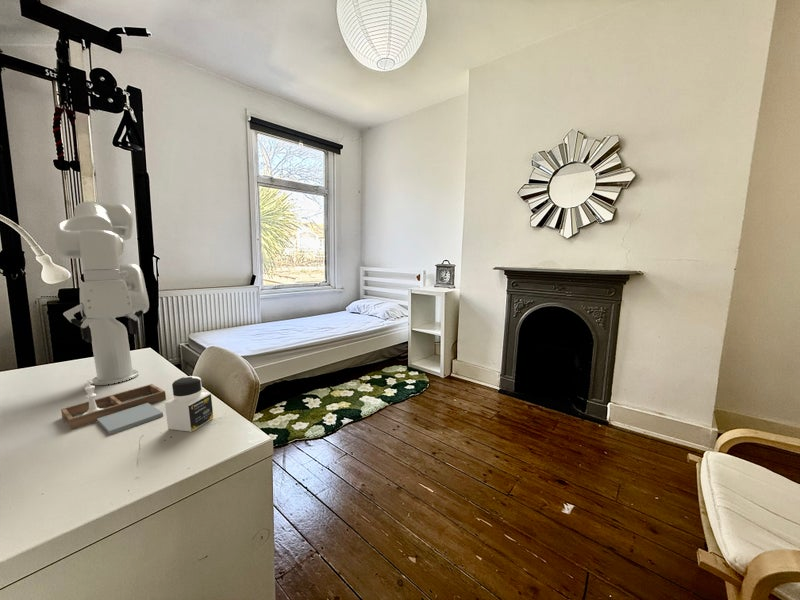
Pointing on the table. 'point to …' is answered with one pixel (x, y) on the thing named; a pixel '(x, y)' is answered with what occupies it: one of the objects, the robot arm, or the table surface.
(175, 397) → the medicine bottle
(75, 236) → the robot arm
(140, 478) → the table surface
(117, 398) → the bay frame
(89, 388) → the chess piece
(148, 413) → the pad
